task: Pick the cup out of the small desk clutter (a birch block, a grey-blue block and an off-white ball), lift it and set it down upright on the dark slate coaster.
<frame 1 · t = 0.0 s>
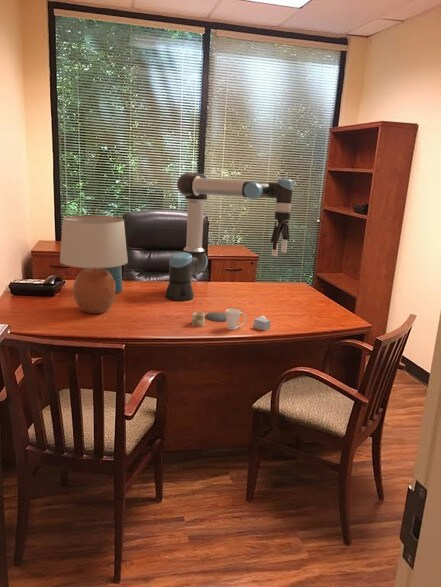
hand: (279, 254, 242), 28 cm above the table, fingers open, 13 cm apart
coaster: (218, 317, 228), on the table
vase: (107, 291, 263), on the table
lamp: (95, 311, 227), on the table
greyblue block: (261, 328, 217), on the table
birch block: (198, 324, 217), on the table
ball: (261, 324, 222), on the table
cup: (235, 328, 215), on the table
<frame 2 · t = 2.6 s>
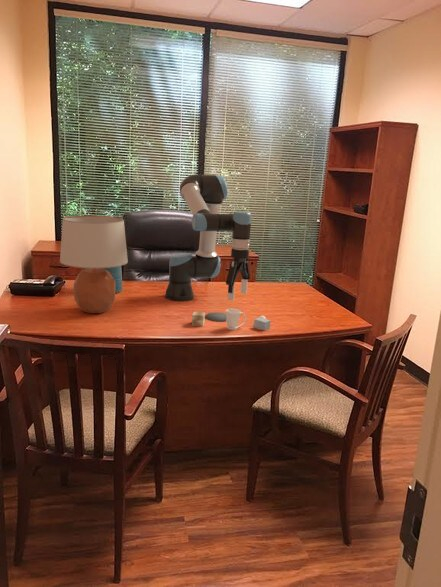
hand: (237, 296, 211), 14 cm above the table, fingers open, 13 cm apart
nothing on the table moved.
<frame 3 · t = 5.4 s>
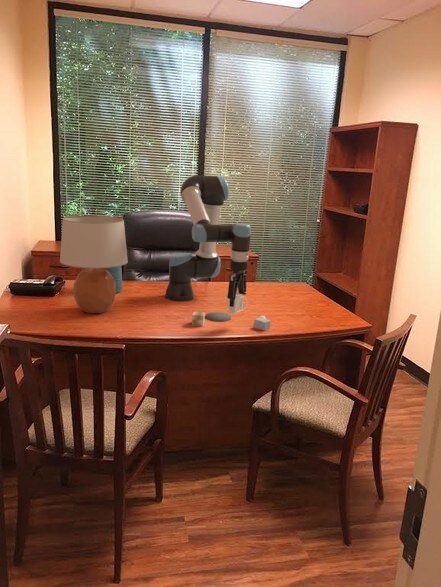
hand: (235, 310, 213), 8 cm above the table, fingers closed on cup, 7 cm apart
cup: (235, 312, 213), point 7 cm above the table, touching gripper
everything else where it was.
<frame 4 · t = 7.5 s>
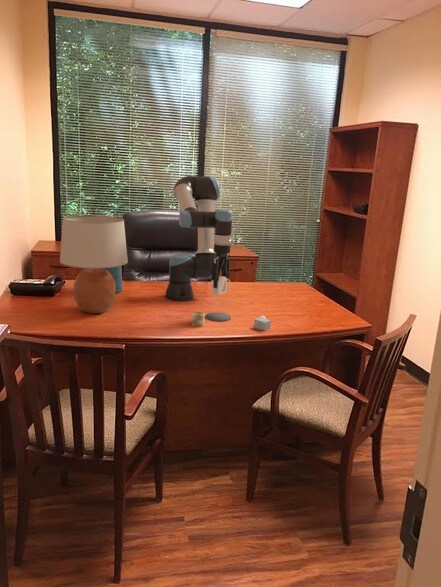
hand: (219, 292, 225), 12 cm above the table, fingers closed on cup, 7 cm apart
cup: (219, 294, 225), point 11 cm above the table, touching gripper
everything else where it was.
when the fingers open (1 cm above the table, at t = 10.1 s): cup moves 2 cm, resting on coaster.
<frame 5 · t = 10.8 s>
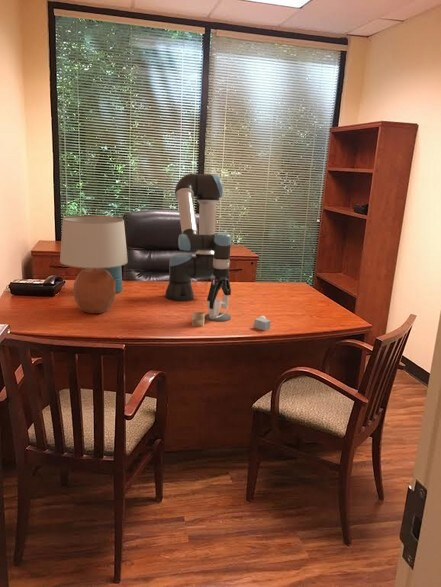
hand: (218, 311, 227), 3 cm above the table, fingers open, 13 cm apart
cup: (216, 317, 226), resting on coaster
everything else where it was.
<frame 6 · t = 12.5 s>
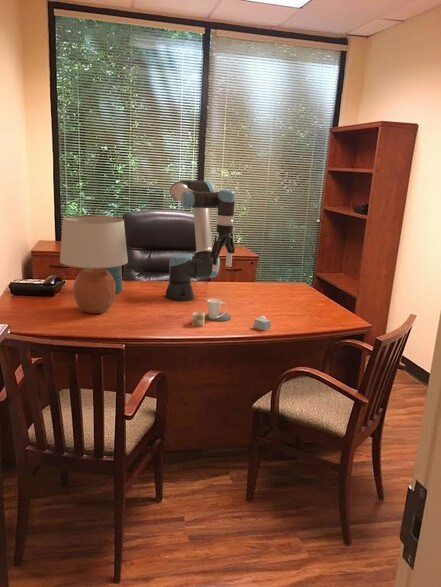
hand: (221, 268, 229), 22 cm above the table, fingers open, 13 cm apart
nothing on the table moved.
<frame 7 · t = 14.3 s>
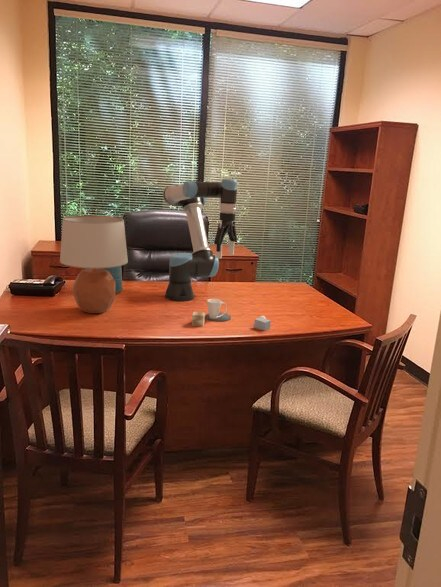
hand: (225, 256, 235), 27 cm above the table, fingers open, 13 cm apart
nothing on the table moved.
at the end: cup 1.7 cm from the coaster (horizontally); cup tilted 0°; the gripper is holding nothing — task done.
